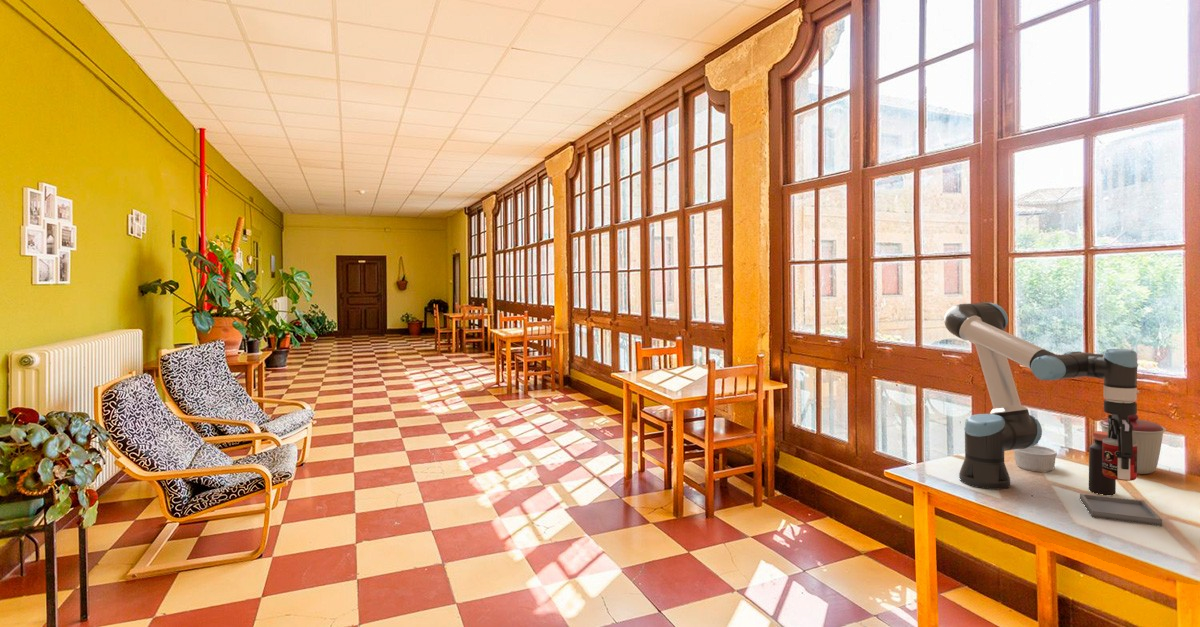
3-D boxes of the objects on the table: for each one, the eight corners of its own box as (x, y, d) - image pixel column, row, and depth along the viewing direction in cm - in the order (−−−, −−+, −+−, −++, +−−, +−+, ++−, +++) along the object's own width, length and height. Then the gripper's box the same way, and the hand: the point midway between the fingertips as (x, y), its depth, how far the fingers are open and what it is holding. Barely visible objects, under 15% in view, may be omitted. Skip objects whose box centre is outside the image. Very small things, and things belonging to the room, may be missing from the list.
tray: (1092, 517, 175) (1092, 510, 175) (1079, 499, 189) (1079, 493, 189) (1162, 526, 168) (1162, 519, 168) (1143, 506, 181) (1143, 500, 181)
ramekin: (1008, 467, 221) (1008, 449, 221) (1018, 459, 230) (1018, 442, 229) (1051, 475, 211) (1051, 456, 211) (1060, 467, 220) (1060, 449, 219)
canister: (1154, 481, 202) (1155, 421, 201) (1089, 468, 217) (1090, 412, 216) (1173, 471, 211) (1174, 413, 210) (1110, 459, 227) (1110, 405, 225)
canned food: (1095, 473, 181) (1095, 438, 180) (1118, 471, 182) (1118, 437, 181) (1120, 482, 173) (1120, 445, 173) (1144, 480, 174) (1144, 443, 174)
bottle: (1084, 491, 195) (1086, 432, 194) (1093, 487, 199) (1094, 429, 198) (1110, 497, 189) (1111, 436, 188) (1118, 493, 193) (1120, 433, 192)
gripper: (1148, 408, 166) (1147, 487, 167) (1125, 394, 184) (1124, 466, 185) (1114, 406, 169) (1113, 484, 170) (1095, 393, 187) (1094, 463, 188)
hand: (1119, 474), depth 177 cm, fingers closed on canned food, 8 cm apart
